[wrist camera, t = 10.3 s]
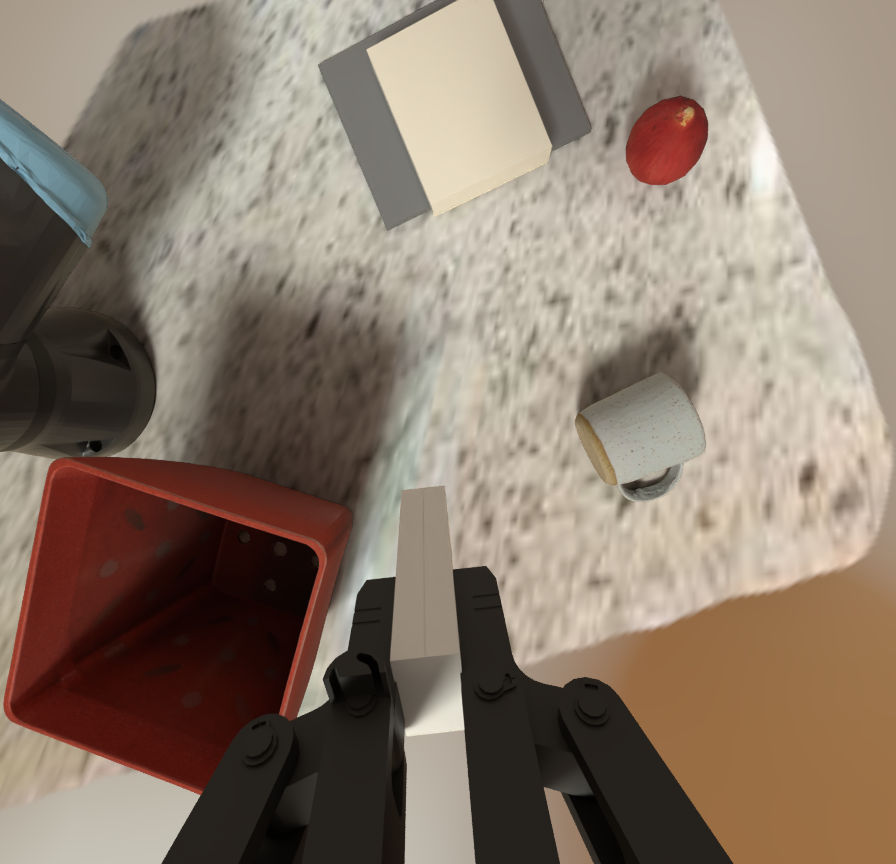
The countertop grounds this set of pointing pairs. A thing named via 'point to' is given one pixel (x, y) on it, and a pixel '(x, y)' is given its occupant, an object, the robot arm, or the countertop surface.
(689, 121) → the onion
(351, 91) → the mat
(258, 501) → the plant pot
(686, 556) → the countertop surface
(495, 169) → the tile
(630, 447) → the ceramic mug
